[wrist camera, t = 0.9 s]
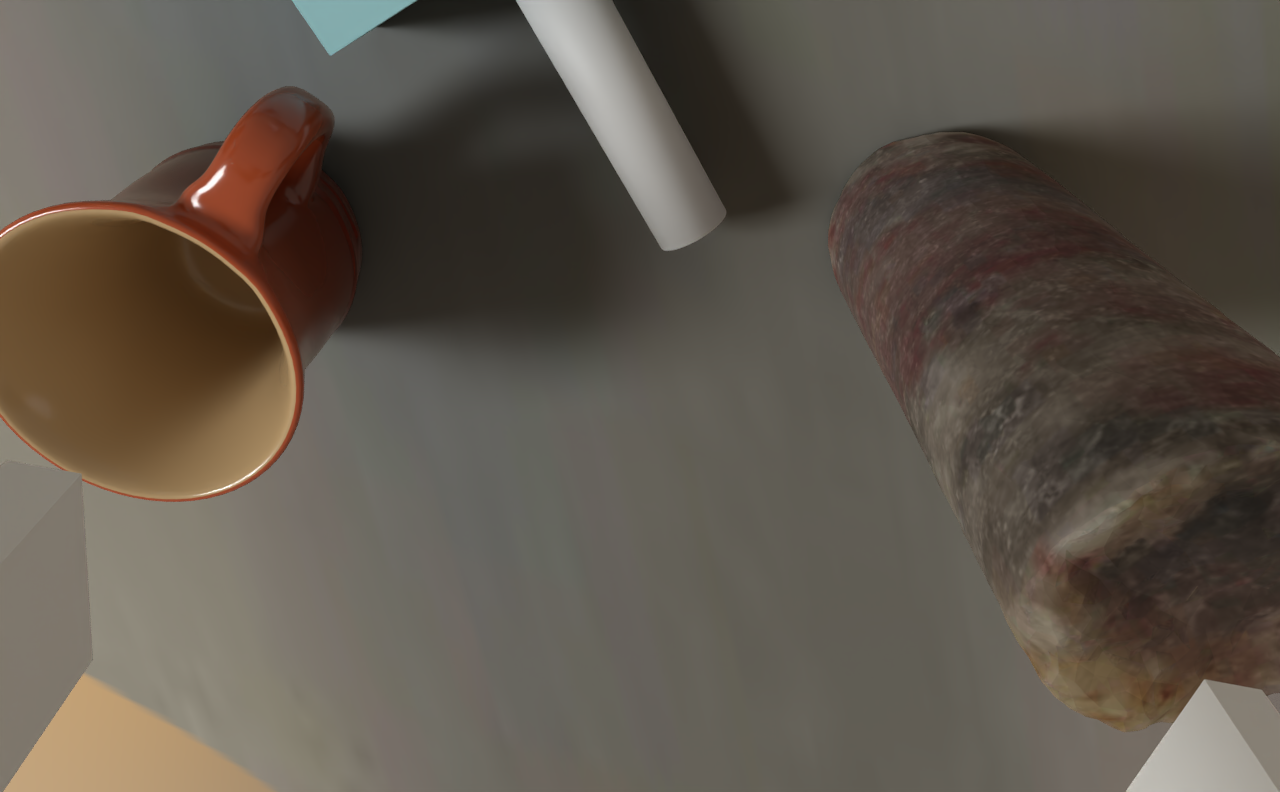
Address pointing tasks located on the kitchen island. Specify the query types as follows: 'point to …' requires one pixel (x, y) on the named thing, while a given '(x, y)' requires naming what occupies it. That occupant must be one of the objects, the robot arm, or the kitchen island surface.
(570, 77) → the chuck block
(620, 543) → the kitchen island surface
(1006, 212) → the brown mottled cylinder
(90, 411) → the mug
